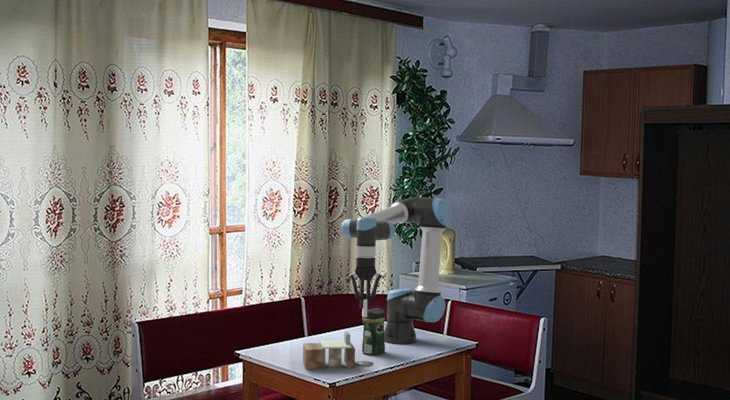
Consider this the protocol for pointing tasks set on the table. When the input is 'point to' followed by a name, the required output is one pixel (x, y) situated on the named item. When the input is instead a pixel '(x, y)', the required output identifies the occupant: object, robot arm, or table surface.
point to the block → (335, 357)
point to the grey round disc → (363, 363)
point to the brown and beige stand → (316, 356)
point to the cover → (337, 342)
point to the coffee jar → (373, 332)
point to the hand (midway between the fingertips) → (364, 316)
